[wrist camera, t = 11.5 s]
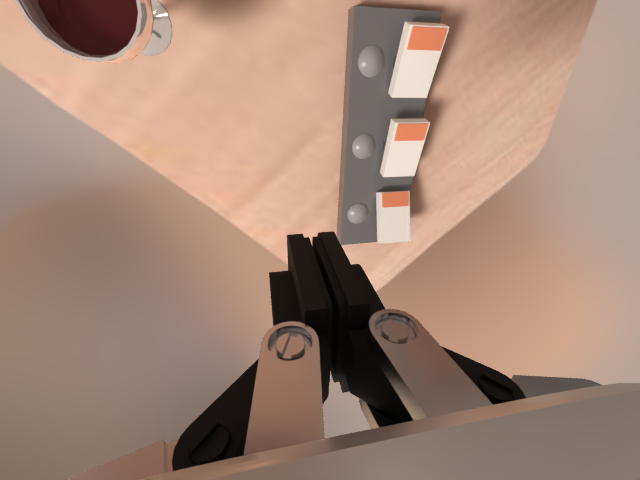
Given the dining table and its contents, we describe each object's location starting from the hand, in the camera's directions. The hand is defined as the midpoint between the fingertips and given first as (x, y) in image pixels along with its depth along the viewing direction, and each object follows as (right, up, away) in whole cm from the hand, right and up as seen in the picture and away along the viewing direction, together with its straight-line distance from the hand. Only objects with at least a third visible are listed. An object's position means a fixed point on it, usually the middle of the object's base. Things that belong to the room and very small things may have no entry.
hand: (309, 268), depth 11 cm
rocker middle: (+10, +11, +23) cm, 28 cm away
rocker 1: (+10, +4, +27) cm, 29 cm away
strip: (+7, +13, +26) cm, 30 cm away
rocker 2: (+10, +19, +19) cm, 29 cm away
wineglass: (-16, +21, +17) cm, 31 cm away
